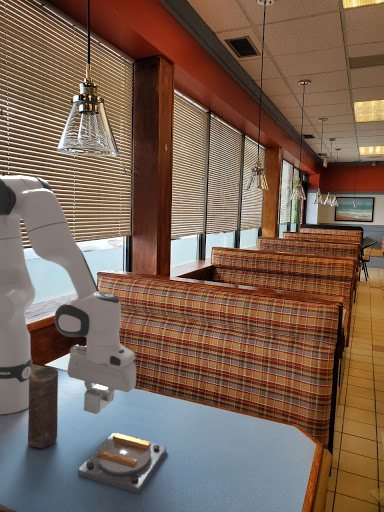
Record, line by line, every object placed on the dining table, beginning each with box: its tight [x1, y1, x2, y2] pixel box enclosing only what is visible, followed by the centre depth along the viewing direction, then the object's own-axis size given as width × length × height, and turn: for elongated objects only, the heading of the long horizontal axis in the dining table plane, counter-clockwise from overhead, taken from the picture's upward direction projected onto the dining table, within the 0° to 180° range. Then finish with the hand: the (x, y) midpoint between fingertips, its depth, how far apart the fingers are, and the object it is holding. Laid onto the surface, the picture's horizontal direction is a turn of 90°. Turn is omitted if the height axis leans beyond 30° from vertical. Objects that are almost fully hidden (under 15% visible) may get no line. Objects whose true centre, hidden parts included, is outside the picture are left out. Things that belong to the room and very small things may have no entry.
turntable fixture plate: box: [77, 432, 167, 495], centre depth 95 cm, size 16×16×4 cm
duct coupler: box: [83, 384, 115, 415], centre depth 107 cm, size 4×9×5 cm, turn 161°
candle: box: [27, 366, 59, 449], centre depth 101 cm, size 8×7×20 cm
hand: (99, 398), depth 107 cm, fingers closed on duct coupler, 4 cm apart
